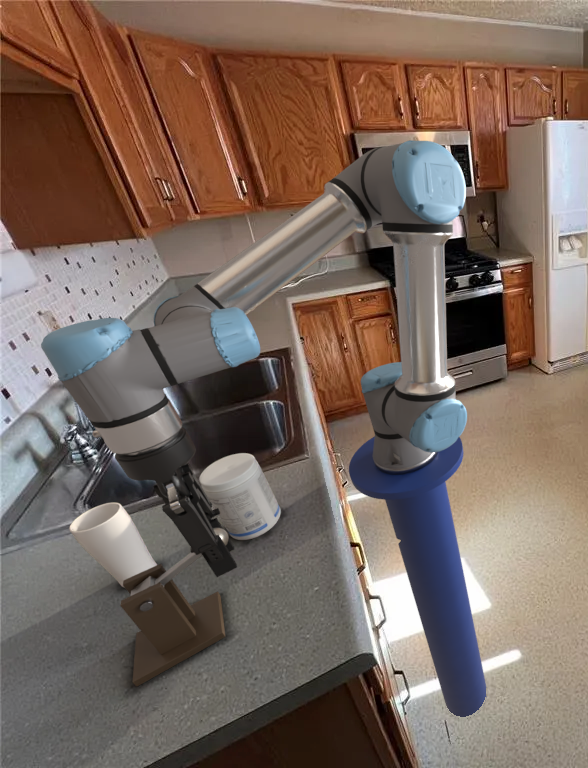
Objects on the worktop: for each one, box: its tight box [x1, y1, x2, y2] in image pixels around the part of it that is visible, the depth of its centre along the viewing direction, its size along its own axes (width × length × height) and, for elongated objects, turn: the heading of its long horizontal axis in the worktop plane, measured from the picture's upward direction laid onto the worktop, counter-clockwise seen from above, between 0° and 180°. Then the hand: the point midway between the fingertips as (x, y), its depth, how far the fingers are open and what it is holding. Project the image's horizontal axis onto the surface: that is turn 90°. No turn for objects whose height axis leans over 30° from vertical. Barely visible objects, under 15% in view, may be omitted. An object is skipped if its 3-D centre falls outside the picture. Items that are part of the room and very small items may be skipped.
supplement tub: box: [198, 452, 282, 541], centre depth 81 cm, size 10×10×15 cm
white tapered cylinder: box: [68, 501, 158, 589], centre depth 72 cm, size 7×7×15 cm
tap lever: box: [130, 528, 229, 596], centre depth 61 cm, size 13×4×4 cm, turn 127°
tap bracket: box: [119, 563, 226, 688], centre depth 61 cm, size 11×9×13 cm
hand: (225, 561), depth 64 cm, fingers closed on tap lever, 4 cm apart
